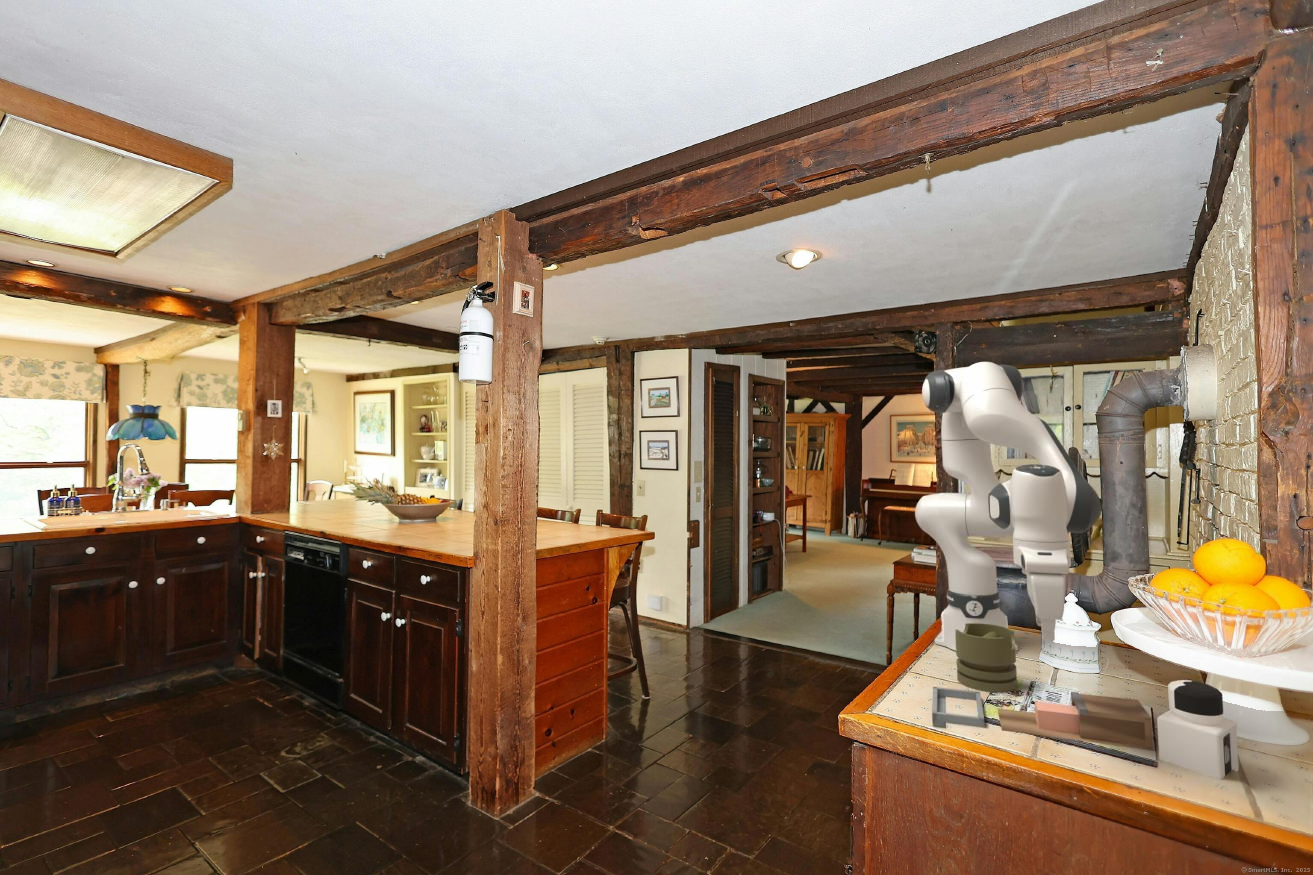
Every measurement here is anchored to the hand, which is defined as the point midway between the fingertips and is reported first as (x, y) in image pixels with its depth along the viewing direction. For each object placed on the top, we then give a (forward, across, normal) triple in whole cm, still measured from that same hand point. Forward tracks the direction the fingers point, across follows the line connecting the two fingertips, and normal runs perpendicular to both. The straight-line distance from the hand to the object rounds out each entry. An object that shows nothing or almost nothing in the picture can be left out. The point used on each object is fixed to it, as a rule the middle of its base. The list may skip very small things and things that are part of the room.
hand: (1045, 632), depth 113 cm
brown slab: (+18, -1, +3) cm, 18 cm away
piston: (+18, -19, -10) cm, 28 cm away
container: (+18, +6, +19) cm, 27 cm away
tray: (+18, -2, -15) cm, 23 cm away
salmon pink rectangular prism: (+17, -1, +3) cm, 17 cm away
